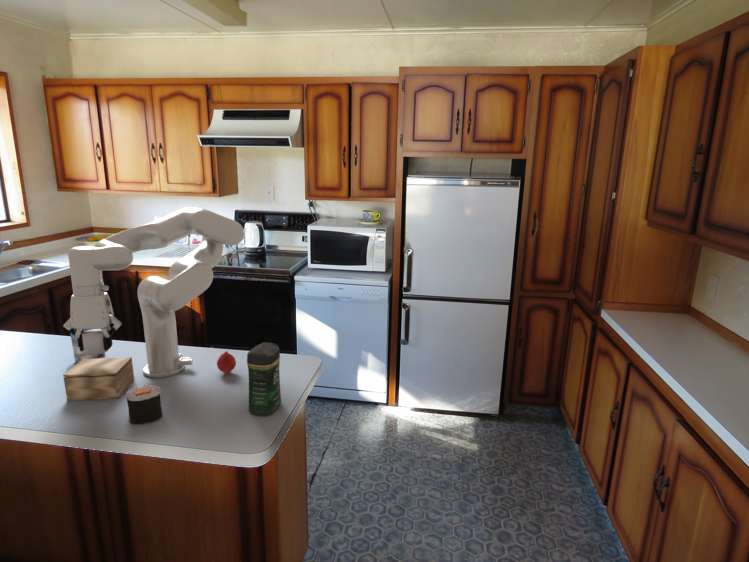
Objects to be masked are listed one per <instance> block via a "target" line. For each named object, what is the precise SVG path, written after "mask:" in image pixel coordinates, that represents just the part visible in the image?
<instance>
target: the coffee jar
mask: <svg viewBox="0 0 749 562" xmlns="http://www.w3.org/2000/svg"><path fill="white" fill-rule="evenodd" d="M280 353H281V352H280V347H279V345H277V344H276V343H274V342H273V343H272V342H265V341H264V342H261V343H259V344H257V345H255V346H254V347H252V348H251V349H250V350H249V351H248V352H247V354H246V356H247V357H246V363H247V370H248V411H249V412H250V413H251V414H253V415H256V416H266V415H267V416H268V415H272V414H273V413H274V412H275V411H277V410H278V408H279V406H280V405H281V403H282V394H281V380H280V379H281V378H280V360H281V356H280V355H281V354H280Z"/></svg>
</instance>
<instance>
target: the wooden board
mask: <svg viewBox="0 0 749 562" xmlns="http://www.w3.org/2000/svg"><path fill="white" fill-rule="evenodd" d="M131 360H132V361H133V358H132V357H101V358H100V357H97V358H94V359H83V360H81V361H80V362H77V363H76V364H75V365H74V366H73V367H71V368H70V369H68V371H66V372H65V373H64V374H62V376H63V378H64V377H75V376H102V375H117V374H118V373H119V372H120V371H121V370H122V369H123V368H124V367H125V366H126V365H127V364H128V363H129V362H130V361H131Z"/></svg>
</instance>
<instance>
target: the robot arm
mask: <svg viewBox="0 0 749 562" xmlns="http://www.w3.org/2000/svg"><path fill="white" fill-rule="evenodd" d="M190 235H198V236H201V237H202V240H201V242H200V243H199V245H198V246H197V247H196V248H195V249H194V250H192V251H190V252H189V253H187V254H186V255H184V256H182V257H181V258H180V259H178V260H177V261H174V262H173V264H172V265H170V267H169V270H168V277H169V278H167V277H162V276H159V275H150V276H147V277H144V278H143V279H142V280H141V281H140V283H139V284H138V286H137V299H138V300H137V301H138V303H139V307H140V310H141V311H140V312H141V315H142V323H143V331H144V332H143V333H144V334H143V335H144V341H145V342H144V343H145V351H146V360H147V361H146V362H147V364H146V365H145V366H144V367H143V368H142V373H143V374H144V375H145V376H146V377H149V378H165V377H170V376H171V377H172V376H174V375H176V374H179V373H180V372H181V371H182V372H183V370H184V369H185V366H192V365H193V359H192V358H191V356H190V357H189V356H186V357H184V356H182V352H179V344H178V342H179V341H178V333H177V321H176V319H177V318H176V313H175V312H176V311H179V310H181V309H183V308H184V307H185V306H187V305H188V304H189V303H191V302H192V301H194V299H196V298H198V296H200V295H201V294H203V293H204V292H206V290H208V288H210V286H211V284H212V282H213V280H214V272H213V269H214V268H215V266H217V265H218V264H219V263H220V261H221V259H222V257H223V251H224V245H225V246H230V247H234V246H237V245H239V244H240V243H241V242H242V241H243V240H244V237H245V230H244V227H243V226H242V225H241V223H239V222H238V221H236V220H233V219H232V218H229V217H227V216H224V215H221V214H219V213H216V212H213V211H212V210H209V209H206V208H202V207H201V208H200V207H193V206H187V207H183V208H179V210H176V211H174V212H171V213H170V214H167V215H164V216H163V217H162V216H161V217H160V218H158V219H156V220H153V221H151V222H149V223H145V224H141V225H138V226H136V227H132V228H128V229H125V230H122V231H120V232H116V233H114V234H112V235H110V236H108V237H105V238H102V239H101V240H99V241H98V242H96V243H95V244H94V245H80V246H79V245H78V246H73V247H70V248H69V250H68V252H67V256H68V257H67V258H68V264H69V271H70V278H71V287H72V293H73V294H72V295H71V296H70V304H69V307H70V308H69V309H70V310H69V314H70V317H69V318H68V320H67V321H66V322H65V323H64V324H63V328H65V329H66V330H68V331H69V332H70V334H71V333H72V334H73V335H74V336H75V338H77V341H78V347H80V351H83V350H84V347H83V339H82V333H83V332H84V331H85V329H101V330H102V332H103V334H104V336H105V337H104V338H103V342H104V350H105V351H107V350H108V351H109V350H110V349H111V348H112V346H113V336H112V335H113V334H114V333H115V332H116V331H117V330H118V329H119V328H120V327H121V326H122V325H123V323H122V321H120V320H119V319H118V318H117V317H115V314H114V310H113V306H112V302H111V298H110V296H109V294H108V292H106V291H109V289H110V287H109V285H105V283H104V279H103V271H122V270H126V269H127V268H128V267H130V266H131V264H132V263H133V260H134V255H133V253H136V252H141V251H147V250H148V251H149V250H159V249H163V248H166V247H168V246H170V245H172V244H174V243H176V242H178V241H180V240H182V239H184V238H187V237H189V236H190ZM112 324H113V326H112V327H111V326H110V325H112ZM108 351H107V352H108Z"/></svg>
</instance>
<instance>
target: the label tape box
mask: <svg viewBox="0 0 749 562" xmlns="http://www.w3.org/2000/svg"><path fill="white" fill-rule="evenodd" d="M87 330H91V329H85V331H87ZM85 331H84V332H85ZM70 339H71V345H72V351H73V357H74V362H75V361H76V363H79V362H80V361H81V360H83V359H96V358H100V357H102V356H105V355H106V354H107V352H105V353H103V354H99V355H92V356H90V355H85V354H84V350H83V351H80V347H78V341H77V338H75V336H74V335H73V334H72V333H71V332H70Z"/></svg>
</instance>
